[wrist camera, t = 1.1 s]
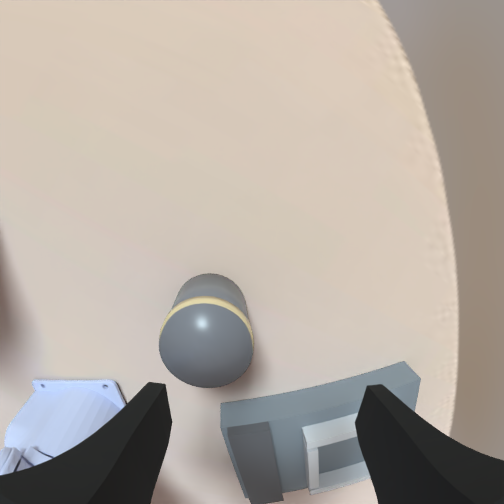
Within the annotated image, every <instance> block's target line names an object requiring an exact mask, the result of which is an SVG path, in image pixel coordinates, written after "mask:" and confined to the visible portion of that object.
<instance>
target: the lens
mask: <svg viewBox="0 0 504 504" xmlns="http://www.w3.org/2000/svg"><path fill="white" fill-rule="evenodd" d="M253 348H254V341H253V334H252V329H251V326H250V323H249V321H248V315H247V309H246V303H245V298H244V296H243V293H242V291H241V290H240V288H239V287H238V286H237V285H236V284H235V283H234V282H233V281H232V280H230V279H228V278H227V277H224V276H222V275H218V274H202V275H198V276H195V277H193V278H191V279H190V280H189V281H187V282H186V283H185V284H184V285H183V286H182V288H181V289H180V291H179V293H178V295H177V298H176V300H175V302H174V305H173V307H172V309H171V311H170V312H169V313H168V315H167V317H166V318H165V321H164V323H163V325H162V328H161V331H160V337H159V351H160V355H161V358H162V361H163V363H164V364H165V366H166V367H167V369H168V370H169V371H170V372H171V373H172V374H173V375H174V376H175V377H176V378H178V379H179V380H181V381H183V382H185V383H187V384H190V385H192V386H196V387H202V388H215V387H221V386H224V385H227V384H229V383H232V382H233V381H235V380H236V379H238V378H239V377H240V376H241V375H242V374H243V373H244V372H245V371H246V370H247V368H248V366H249V364H250V362H251V359H252V354H253Z"/></svg>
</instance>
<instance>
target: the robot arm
mask: <svg viewBox="0 0 504 504" xmlns="http://www.w3.org/2000/svg"><path fill="white" fill-rule="evenodd" d="M43 384H44V385H45V386H44V385H43ZM32 385H33V387H34V389H35V392H34V393H33V394H32V395H31V397H30V398H29V399H28V400H27V402H26V403H25V404H24V406H23V407H22V408H21V409H20V411H19V412H18V413H17V415H16V416H15V417H14V419H13V420H12V421H11V423H10V424H9V426H8V428H7V430H6V434H5V447H4V448H3V449H1V450H0V504H150V503H151V498H152V495H153V491H154V488H155V484H156V481H157V478H158V475H159V472H160V469H161V466H162V463H163V460H164V456H165V453H166V450H167V447H168V443H169V437H170V432H171V426H172V418H171V413H170V408H169V402H168V397H167V391H166V385H165V384H161V383H153V382H149V383H147V384H146V385H145V386H144V387H143V388H142V389H141V390H140V391H139V392H138V393H137V394H136V395H135V396H134V398H133V399H132V400H131V401H130V402H129V403H127V404H126V403H125V401H124V399H123V397H122V395H121V392H120V390H119V388H118V385H117V384H116V382H115V381H113V380H37V379H35V380H33V381H32ZM105 385H107V386H108V387H106V386H105ZM355 427H356V432H357V437H358V442H359V446H360V449H361V452H362V455H363V457H364V460H365V463H366V466H367V469H368V471H369V474H370V477H371V480H372V483H373V486H374V488H375V492H376V495H377V499H378V504H504V461H503V460H500V459H496V458H493V457H490V456H488V455H485V454H482V453H480V452H477V451H475V450H473V449H471V448H468V447H466V446H464V445H462V444H460V443H459V442H457V441H455V440H454V439H452V438H450V437H448V436H447V435H445V434H444V433H442V432H441V431H439V430H438V429H436V428H435V427H433V426H432V425H431V424H429V423H428V422H427V421H425V420H424V419H423V418H421V417H420V416H419V415H418V414H416V413H415V412H414V411H413V410H412V409H410V408H409V407H408V406H407V405H406V404H405V403H403V402H402V401H401V400H400V399H399V398H398V397H397V396H395V395H394V394H393V393H392V392H391V391H390V390H388V389H387V388H386V387H385V386H384V385H382V384H377V385H367V387H366V390H365V393H364V396H363V400H362V403H361V406H360V409H359V412H358V415H357V417H356V420H355Z"/></svg>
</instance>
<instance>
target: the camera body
mask: <svg viewBox="0 0 504 504" xmlns="http://www.w3.org/2000/svg"><path fill="white" fill-rule="evenodd" d="M420 380H421V378H420V377H419V376H418V375H417V374H416V373H415V372H414V371H413V370H412V369H411V368H410V367H409V366H408V365H407V364H406V363H405V361H403V362H400V363H397V364H394V365H391V366H388V367H385V368H381V369H378V370H375V371H372V372H368V373H365V374H361V375H358V376H354V377H351V378H347V379H343V380H340V381H336V382H332V383H328V384H324V385H320V386H315V387H311V388H307V389H302V390H297V391H293V392H288V393H283V394H277V395H272V396H266V397H260V398H254V399H248V400H242V401H235V402H227V403H221V431H222V434H223V437H224V440H225V443H226V446H227V449H228V452H229V455H230V457H231V460H232V463H233V466H234V469H235V471H236V474H237V477H238V480H239V482H240V485H241V488H242V490H243V493H244V495H245V498H249V500H250V502H251V504H266V503H272V502H279V501H284V500H283V495H282V493H285V492H290V491H296V490H300V489H305V488H308V489H309V492H310V495H313V494H318V493H322V492H326V491H330V490H333V489H337V488H340V487H344V486H347V485H351V484H354V483H357V482H360V481H363V480H366V479H369V478H371V477H370V474H369V471H368V469H367V466H366V463H365V460H364V457H363V455H362V452H361V449H360V446H359V442H358V437H357V432H356V427H355V420H356V417H357V415H358V412H359V409H360V406H361V403H362V400H363V396H364V393H365V390H366V387H367V385H377V384H382V385H384V386H385V387H386V388H387V389H388V390H390V391H391V392H392V393H393V394H394V395H395V396H397V397H398V398H399V399H400V400H401V401H402V402H403V403H405V404H406V405H407V406H408V407H409V408H410V409H412V410H413V411H415V407H416V402H417V397H418V391H419V386H420Z"/></svg>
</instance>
